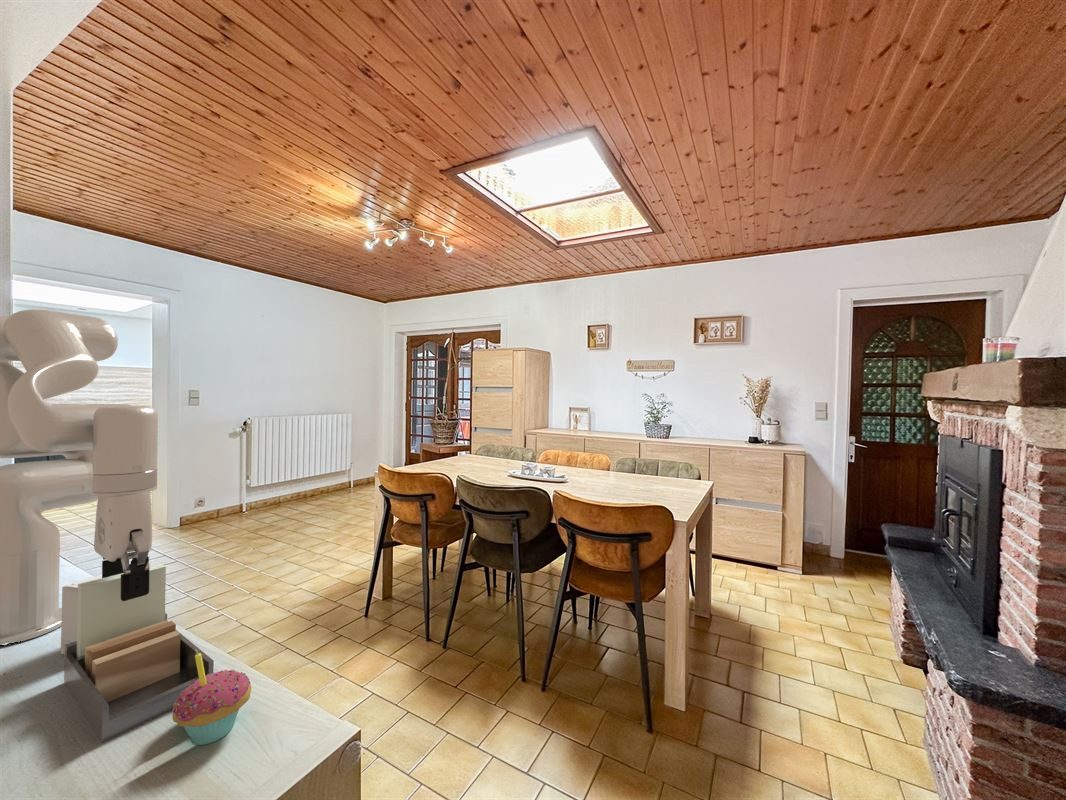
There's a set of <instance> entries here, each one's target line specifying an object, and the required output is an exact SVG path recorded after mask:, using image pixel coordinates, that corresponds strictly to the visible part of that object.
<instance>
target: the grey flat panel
mask: <svg viewBox="0 0 1066 800" xmlns="http://www.w3.org/2000/svg"><path fill="white" fill-rule="evenodd" d="M122 574H124V573H122ZM166 574H167V565H164V564H162V563H159V564H155V565H152V566H150V568H149V593H148V594H147V595H144V596H141V597H137V598H134V599H130V600H127V601H122V600H121V574H118V575H114V576H110V577H106V578H102V579H97V580H93V581H89V582H85V583H81V584H78V602H77V658H78V657H81V656H84V655H85V647H88V646H91V645H94V644H97V643H100V642H103V641H106V640H109V639H112V638H115V637H118V636H121V635H124V634H127V633H130V632H133V631H136V630H139V629H142V628H145V627H148V626H151V625H154V624H157V623H160V622H163V621H165V613H166V587H167V585H166V580H167V578H166Z"/></svg>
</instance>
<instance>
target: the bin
mask: <svg viewBox="0 0 1066 800" xmlns="http://www.w3.org/2000/svg"><path fill="white" fill-rule="evenodd" d="M166 620H168V614H167V612H165V621H166ZM176 631H177V632H178V633H180V632H179V631H178V630H177V629H176ZM195 650H197V651H198V654H199V653H201V656H202V661H203V667H204V672H205V676H206V675H207V674H211V673H214V666H215V665H214V661H215V660H214V659H212V658H211V657H210V656H208V655H207V654H206V653H205V652H204V651H203V650H201V649H200V648H199V647H198V646H197V645H195V644H194V643H193V642H192V641H191V640H189V638H187V637H186V636H185V635H183V634H182V633H180V672H178V673H176V674H173V675H171V676H169V677H166V678H164V679H161V680H159V681H157V682H154V683H152V684H150V685H147V686H145V687H143V688H140V689H138V690H135V691H133V692H131V693H128V694H126V695H124V696H121V697H119V698H116V699H114V700H112V701H109V702H106V700H105V699H104V698H103V696H102V695H101V693H100V692H99V691H98V689H97V688H96V687H95V685H94V684H93V682H92V681H91V680H90V678H89V677H88V676H87V674H86V673H85V655H84V656H81V657H78V658H77V641H74V642H71V643H68V644H65V655H64V661H63V662H64V667H63V670H64V671H63V679H64V680H63V683H64V685H65V687H66V688H67V690H68V691H69V693H70V696H72V699H73V700H74V701H75V703H76V704H77V706H78V708H79V709H80V711H81V712H82V714H83V715H84V717H85V719H86V720H87V721H88V723H89V725H90V726H91V728H92V729H93V731H94V733H95V734H96V736H97V738H98V739H99V741H100V743H102V744H103V743H105V742H108V741H109V740H111V739H113V738H115V737H118V736H120V735H122V734H124V733H126V732H128V731H130V730H133V729H134V728H137V727H138V726H139V727H140V726H141V725H143V724H145V723H147V722H150V721H151V720H154V719H155V718H158V717H160V716H162V715H164V714H166V713H168V712H170V711H173V707H174V706H173V705H174V703H175V701H176V700H177V698H178V697H179V696H180V694H181V692H182V691H184V690H185V689H186V688H187V687H189V686H188V685H190V684H191V683H193V682H194V681H196V680H198V679H199V675H198V670H197V665H196V659H195V655H197V654H196V651H195Z"/></svg>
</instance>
